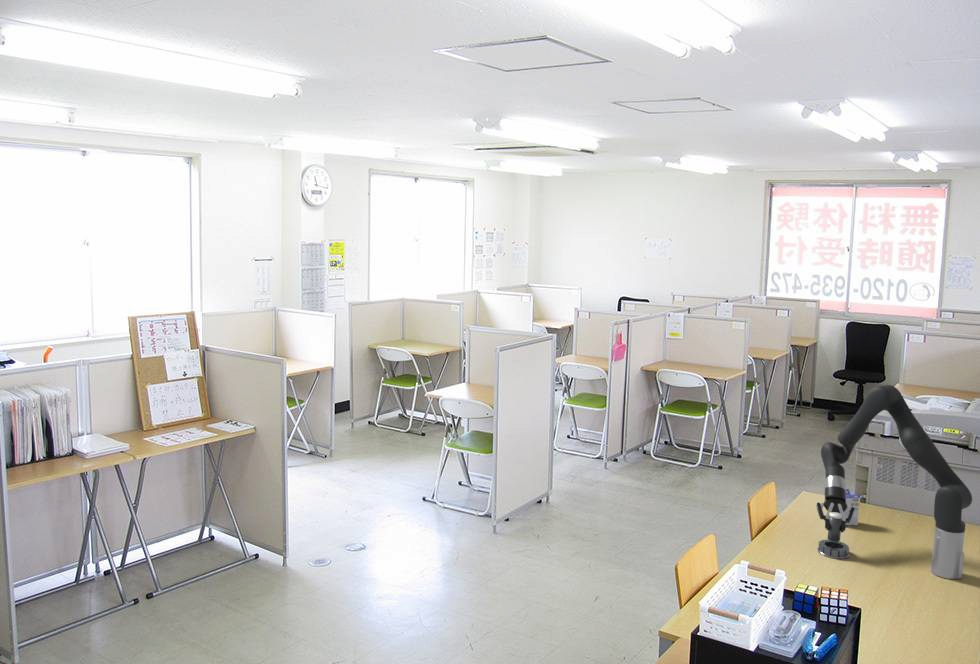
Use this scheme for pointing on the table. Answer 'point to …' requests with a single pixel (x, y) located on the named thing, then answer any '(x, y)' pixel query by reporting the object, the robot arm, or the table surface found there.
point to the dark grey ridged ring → (833, 549)
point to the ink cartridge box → (852, 501)
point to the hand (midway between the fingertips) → (835, 530)
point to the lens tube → (835, 526)
